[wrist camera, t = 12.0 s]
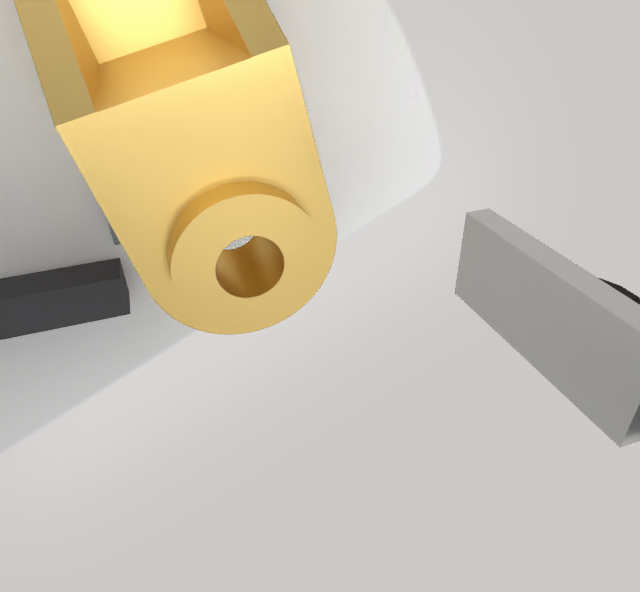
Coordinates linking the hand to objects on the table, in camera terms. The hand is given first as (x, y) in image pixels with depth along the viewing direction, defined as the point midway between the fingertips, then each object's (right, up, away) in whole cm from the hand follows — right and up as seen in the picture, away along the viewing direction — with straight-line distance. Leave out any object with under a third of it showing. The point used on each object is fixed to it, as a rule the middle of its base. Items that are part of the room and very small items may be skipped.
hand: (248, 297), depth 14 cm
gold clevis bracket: (-8, +14, +19) cm, 24 cm away
